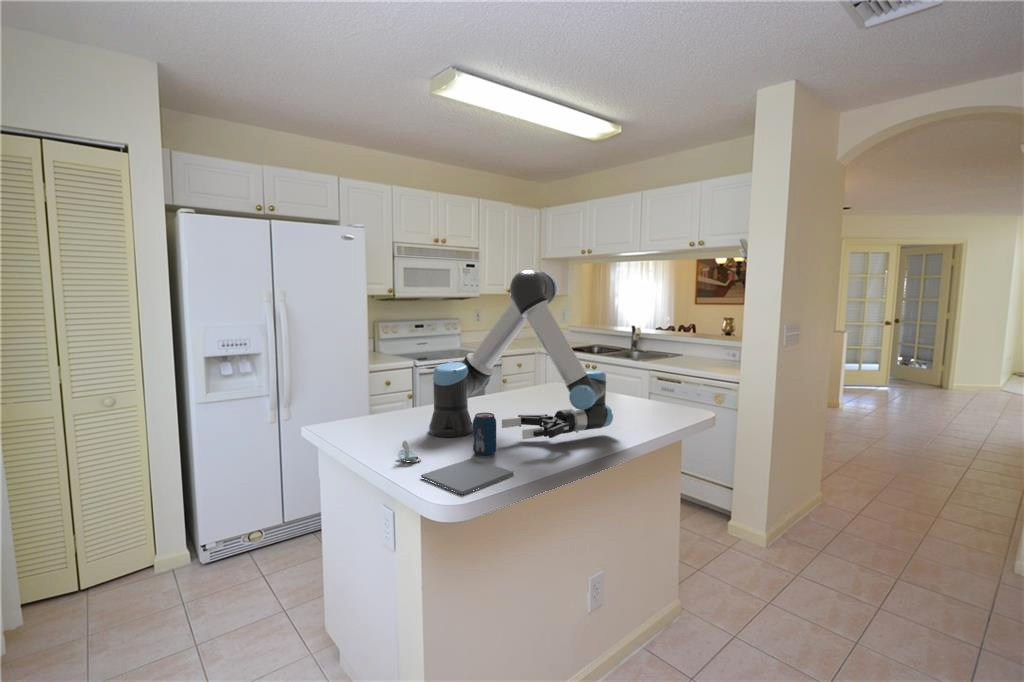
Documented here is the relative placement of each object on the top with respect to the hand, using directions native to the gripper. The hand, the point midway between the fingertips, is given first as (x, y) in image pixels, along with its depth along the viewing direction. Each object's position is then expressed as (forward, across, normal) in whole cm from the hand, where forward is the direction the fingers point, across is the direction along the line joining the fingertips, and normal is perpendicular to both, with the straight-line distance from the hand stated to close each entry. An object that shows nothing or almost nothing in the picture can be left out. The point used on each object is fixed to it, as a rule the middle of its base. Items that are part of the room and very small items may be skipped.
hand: (512, 428), depth 151 cm
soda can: (+9, 0, -7) cm, 11 cm away
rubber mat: (+21, -15, -7) cm, 26 cm away
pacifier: (+30, +5, -7) cm, 32 cm away
